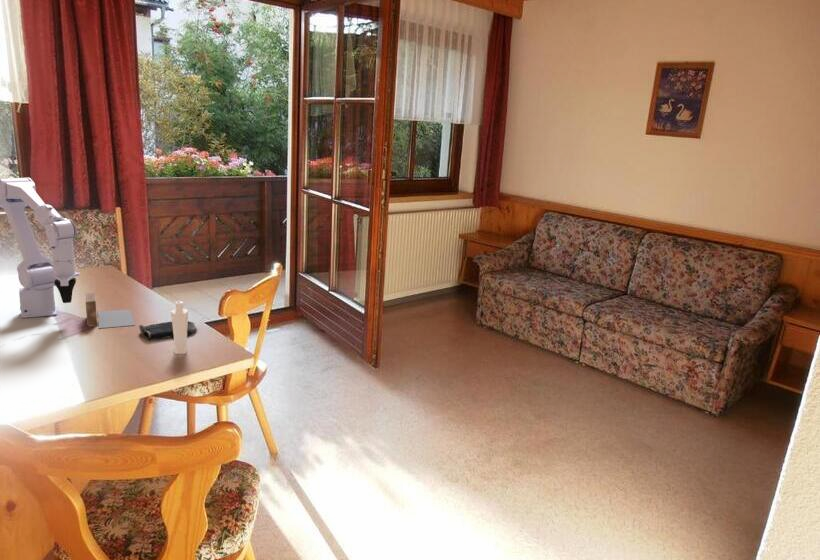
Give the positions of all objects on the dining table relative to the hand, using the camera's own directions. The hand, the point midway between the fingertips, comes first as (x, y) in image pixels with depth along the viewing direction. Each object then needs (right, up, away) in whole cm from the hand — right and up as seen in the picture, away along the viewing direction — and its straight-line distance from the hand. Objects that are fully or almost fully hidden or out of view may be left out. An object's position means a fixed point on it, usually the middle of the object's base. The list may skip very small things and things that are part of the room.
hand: (67, 302), depth 178 cm
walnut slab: (+5, -6, +5) cm, 9 cm away
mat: (+11, -6, +8) cm, 15 cm away
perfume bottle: (+41, -14, -13) cm, 45 cm away
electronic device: (+32, -10, 0) cm, 34 cm away
